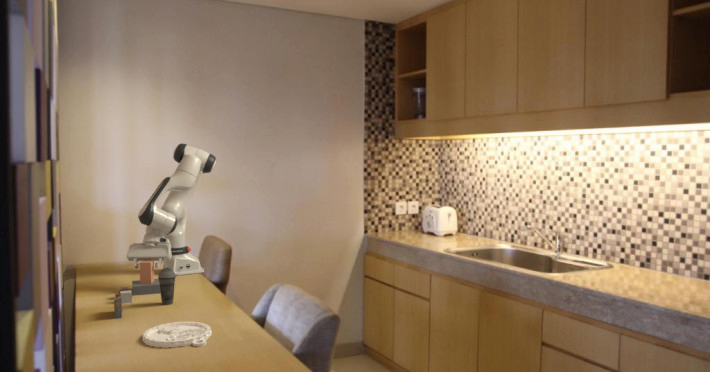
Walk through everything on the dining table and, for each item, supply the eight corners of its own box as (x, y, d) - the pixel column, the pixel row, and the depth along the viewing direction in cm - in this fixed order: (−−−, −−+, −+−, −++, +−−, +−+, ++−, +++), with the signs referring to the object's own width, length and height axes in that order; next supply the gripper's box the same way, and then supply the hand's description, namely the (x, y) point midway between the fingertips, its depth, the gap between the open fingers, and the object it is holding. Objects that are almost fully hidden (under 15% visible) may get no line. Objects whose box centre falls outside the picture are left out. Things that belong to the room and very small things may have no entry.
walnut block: (130, 296, 258) (129, 286, 258) (130, 298, 254) (130, 288, 254) (119, 297, 256) (119, 287, 256) (119, 299, 252) (119, 289, 252)
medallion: (186, 323, 218) (186, 317, 218) (231, 338, 201) (231, 331, 201) (129, 339, 200) (129, 332, 200) (172, 356, 183) (172, 349, 183)
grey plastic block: (131, 300, 251) (131, 290, 251) (131, 302, 247) (131, 292, 247) (120, 301, 250) (120, 291, 249) (120, 303, 246) (120, 293, 245)
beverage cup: (170, 306, 241) (169, 259, 240) (155, 305, 243) (154, 259, 242) (179, 301, 248) (178, 256, 247) (164, 300, 250) (163, 255, 249)
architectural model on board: (122, 319, 224) (122, 294, 224) (114, 319, 223) (113, 295, 223) (123, 311, 235) (122, 288, 234) (115, 312, 234) (114, 289, 233)
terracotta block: (143, 281, 270) (143, 260, 269) (154, 281, 270) (153, 260, 270) (140, 283, 265) (139, 262, 264) (151, 283, 265) (150, 262, 265)
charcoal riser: (161, 286, 276) (160, 278, 276) (162, 292, 264) (162, 284, 264) (132, 289, 271) (132, 280, 271) (133, 295, 259) (132, 286, 259)
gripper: (128, 239, 273) (122, 263, 264) (172, 239, 274) (166, 263, 265) (131, 247, 277) (125, 271, 268) (174, 246, 279) (169, 270, 270)
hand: (146, 267), depth 267 cm, fingers open, 8 cm apart
